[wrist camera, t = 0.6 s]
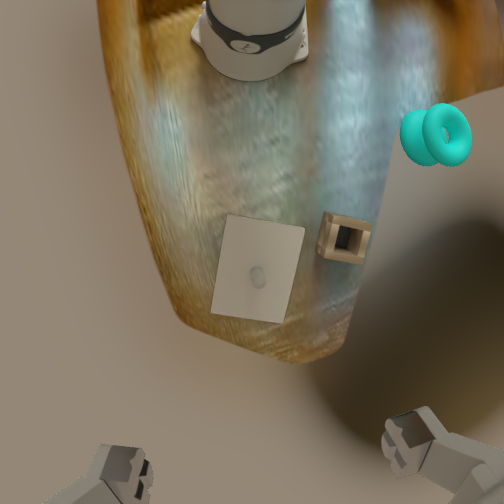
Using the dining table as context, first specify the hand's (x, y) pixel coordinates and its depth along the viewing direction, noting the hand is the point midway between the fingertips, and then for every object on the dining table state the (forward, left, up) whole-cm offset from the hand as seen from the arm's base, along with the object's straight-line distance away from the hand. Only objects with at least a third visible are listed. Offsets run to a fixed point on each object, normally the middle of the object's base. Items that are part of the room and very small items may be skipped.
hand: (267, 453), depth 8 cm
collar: (-2, +16, -41) cm, 44 cm away
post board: (+6, +4, -41) cm, 42 cm away
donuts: (-22, +28, -42) cm, 55 cm away
